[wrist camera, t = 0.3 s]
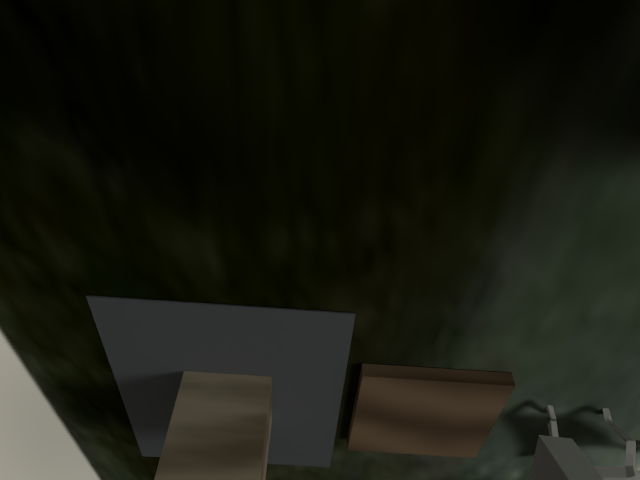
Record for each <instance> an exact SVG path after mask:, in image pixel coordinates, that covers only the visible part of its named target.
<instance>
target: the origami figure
mask: <svg viewBox="0 0 640 480" xmlns="http://www.w3.org/2000/svg"><path fill="white" fill-rule="evenodd" d="M546 410H547V413H548V415H549V417H550V419H551V420H550V422H549V423H548V424H547V426H548V431H549V435H550V436H553V437H559V435H558V429H557V422H556V421H557V419H556V416H555V413H554V410H553V406H549V405H547V407H546ZM603 414H604V419H605V421H606V422H607V423H608V424H609V425H610V426H611V427H612V428H613V430H614V431H615V432H616V433H617V434H618V435H619V436H620V437H621V438H622V439H623V440H624V441H625V442H626V443H627V444H626V457H625V467H594V468H595V469H596V470H597V471H598V473H599V474H600V475H601V477H602V478H603V479H604V480H640V471H639V470H636V469H635V454H636V447H638V448H640V445H639V444H637V445H636V441H635V440H634V439H633V438H631V437H630V436H629V435H628V434H626V433H625V432H624V431H623V430H621V429H620V428H619V427H618V426H616V425H615V424H614V423H613V422H612V420H611V415H610V411H609V409H604V408H603Z"/></svg>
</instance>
